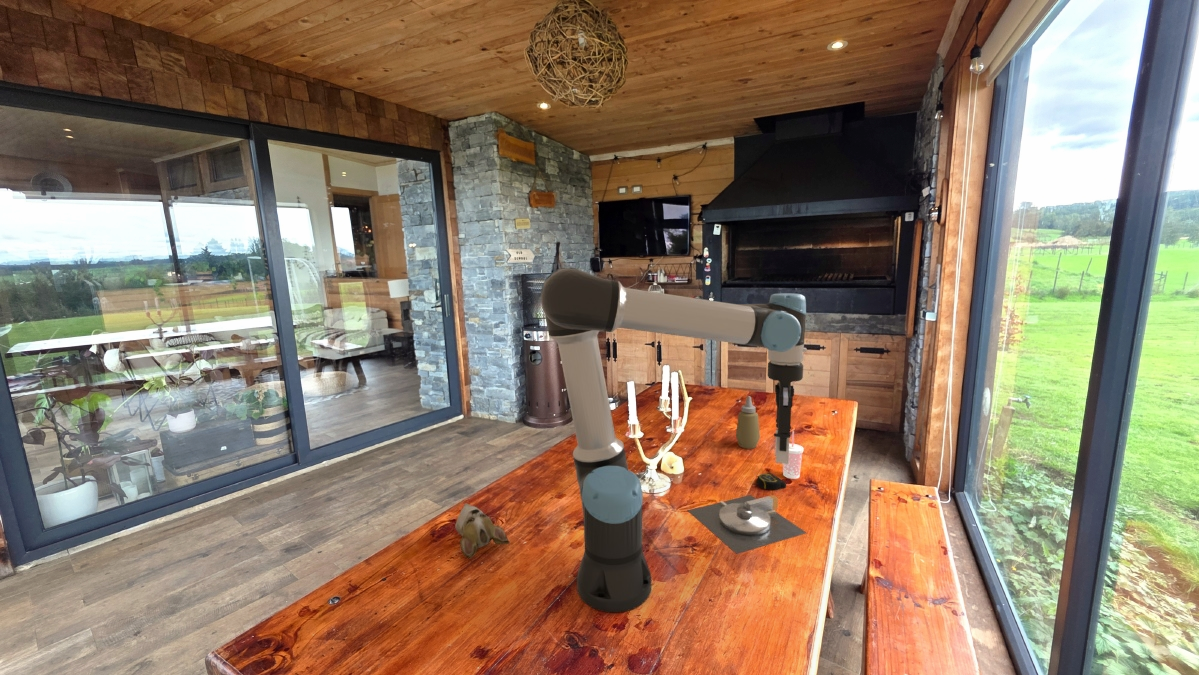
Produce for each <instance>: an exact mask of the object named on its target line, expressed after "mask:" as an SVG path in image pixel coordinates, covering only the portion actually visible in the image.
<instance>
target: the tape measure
mask: <svg viewBox="0 0 1199 675" xmlns="http://www.w3.org/2000/svg"><path fill="white" fill-rule="evenodd" d="M756 486H758V487H759V488H761V489H764V490H767V491H768V490H769V491H779V490H781V489H786V488H787V483H786V481H784V480H783V479H781V477H778V476H776V475H775V474H773V473H771V472H768V473H761V474H759V475H758V476H757V478H756Z"/></svg>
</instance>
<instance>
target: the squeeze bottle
mask: <svg viewBox="0 0 1199 675" xmlns="http://www.w3.org/2000/svg"><path fill="white" fill-rule="evenodd" d="M756 409H757V408H756V406H755V405H753V402H752V397H751V395H747V396H746V399H745V403H744V404H743V405H741V411H739V412H738V416H737V425H736V432H735V437H736V438H735V439H737V444H738V445H739V447H741V448H743V449H748V450H749V449H750V450H751V449H755V448H757V445H758V443H759V441H760V439H761V438H760V436H761V433H760V423H759V422H760V421H759V420H760V419H759V414H758V413H757V412H756Z"/></svg>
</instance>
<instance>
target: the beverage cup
mask: <svg viewBox="0 0 1199 675" xmlns="http://www.w3.org/2000/svg"><path fill="white" fill-rule="evenodd" d="M791 434H792V435H791V443H790V442H789V459H788V464H783V463H782V473H783V474H782V475H783V476H784V477H786V478H787V479H792V480H795V479H800V476H801V466H802V461H803V460H802V459H803V452H804V447H803V446H802V445H800V444H796V443H795V442H794V441H795V431H794V430H792V432H791Z"/></svg>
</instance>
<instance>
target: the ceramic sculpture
mask: <svg viewBox="0 0 1199 675" xmlns="http://www.w3.org/2000/svg"><path fill="white" fill-rule="evenodd" d="M454 527H455V530H456V532H457V533H458V534H459V535H460V536H461V538H460V541H459V546H460V550H461V552H462V554H463V556H464V557H465V558H468V559H470V560H471V559H473V557H474V556H475V554H476V553H477V552H478V549H480V548H483V547H486V546H487V545H489V544H490V543H491V541H493V543H494V545H500V546H501V545H509V544H510V540H509V539H508V537H507V533H506V532H505V530H504V529H503V528H502V526H499V525H495V524H494V523H493V521H492V519H491V518H490V517H489V516H488V515H486V514H485V513H484V512H483V511H482V510H480V509H479V508H478V507H476V506H475V505H471V504H468V503H467V502H466V503H464V504H463V506H462V508H461V510H460V513H459V515H458V517H457V519H456V522H455V525H454Z"/></svg>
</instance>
